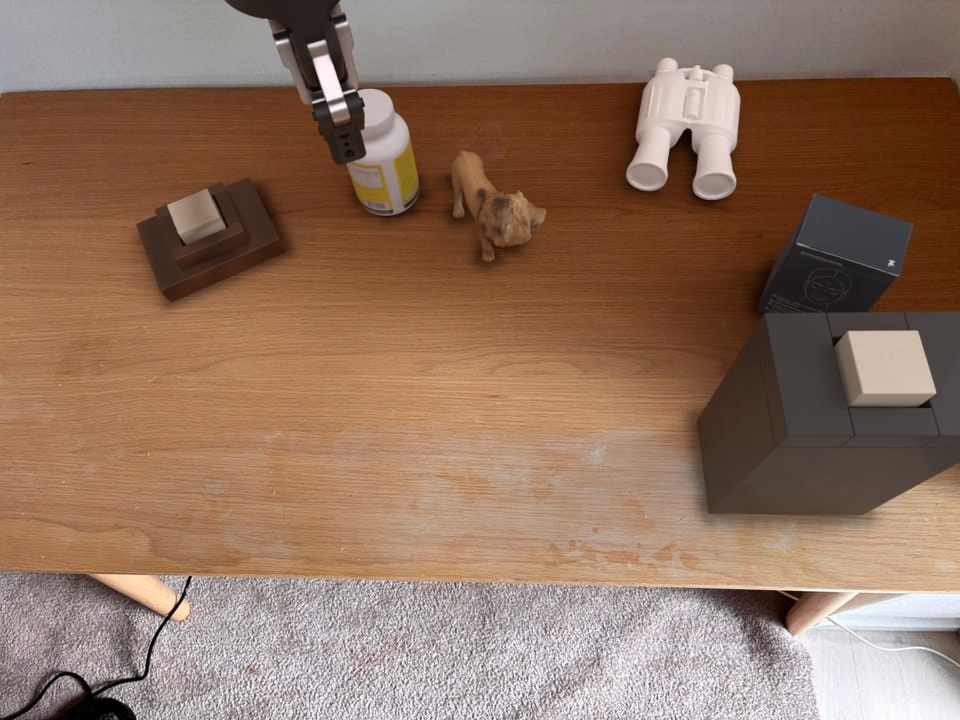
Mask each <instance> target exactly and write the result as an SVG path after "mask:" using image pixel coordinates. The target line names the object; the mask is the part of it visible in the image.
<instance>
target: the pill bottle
mask: <svg viewBox="0 0 960 720" xmlns="http://www.w3.org/2000/svg"><path fill="white" fill-rule="evenodd" d="M356 91H357V92H358V94H359V97H360V98H361V97H362V98H363V101H364V104H365V107H363V109H364V113H365V129H364V130H361V134H362V138H363V142H364V145H365V149H366V156H365V157H364V158H362V159H359V160H356V161H353V162H349V163H346V167H347V170H348V173H349V176H350V178H351V181H352V184H353V187H354V191H355V194H356V197H357V199H358V201H359V203H360V205H361V207H363V208H364V209H365V210H367V211H368V212H369V213H371V214H373V215H377V216H383V217H388V216H394V215H399V214H401V213H403V212H405V211H407V210H408V209H409V208H411V207H412V206H413V205H414V204H415V203H416V202H417V199H418V197H419V194H420V180H419V175H418V171H417V170H418V169H417V165H416V160H415V156H414V151H413V146H412V140H411V135H410V131H409V127H408V125H407V123H406V121H405V119H403V117H402V116H400V114H398V113H397V112H396V111H395V107H394V104H393V100H392V99H391V97H390V96H389V95H388V94H387V93H386V92H384V91H382V90H380V89H376V88H363V89H360V90H359V89H358V90H356Z"/></svg>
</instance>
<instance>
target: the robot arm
mask: <svg viewBox="0 0 960 720" xmlns="http://www.w3.org/2000/svg"><path fill="white" fill-rule="evenodd" d="M223 1H225V2H226V4H228V6H230V7H231V8H233V9H234V10H236V11H238V12H239V13H242V14H244V15H247V16H250V17H252V18H256V19H261V20H267V21H268V24H269V28H270V29H271V36H272V39H273V41H274V44H275V47H276V50H277V52H278V54H279V57H280V61H281V63H282V65H283V66H284V67H285V68H286V69H288V70H289V71H290V74H291V76H292V79H293V82H294V85H295V87H296V89H297V92H298V96H299V98H300V101H301V102H302V104H304V105H305V106H306V105H307V106H311V107H312V109H313V111H311V113H310V114H311V115H312V118H313V121H314V122H315V123H316V124H318V126H317V131H318V133H319V136H322V137H323V140H324V142H326V144H327V146H328V149H329V152H330V154H331V157H332V161H333V162H334V164H335V165H337V166H342V165H345V164H346V163H349V162H353V161H356V160H359V159H362V158H364V157H365V156H366V149H365V145H364V142H363V138H362V134H361V130H364V129H365V113H364V109H363V107H365V104H364V101H363V98H362V97H361V98H360V97H359V94H358V92H357V91H358V90H359V88H360V80H359V77H358V73H357V68H356V66H355V65H356V64H355V62H354V58H353V57H354V56H353V53H352V51H353V49H354V47H355V42H354V37H353V34H352V30H351V27H350V23H349V20H348V16H347V15H346V12H345V11H342V9H341V4H340V2H341V0H223ZM346 165H347V164H346Z"/></svg>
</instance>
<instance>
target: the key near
mask: <svg viewBox="0 0 960 720" xmlns="http://www.w3.org/2000/svg"><path fill="white" fill-rule="evenodd" d="M834 351H835V356H836V360H837V364H838V368H839V373H840V377H841V381H842V385H843V390H844V394H845V398H846V402H847V407H919V406H920V405H921V404H923V403H924V402H925V401H927V400H928V399H929V398H931V397H932V396H933V395H935V394H936V389H935V386H934V383H933V379H932V376H931V373H930V369H929V366H928V363H927V359H926V356H925V353H924V349H923V346H922V343H921V339H920V336H919V333H918V331H847V332H846V333H845V335H844V336H843V337H842V338H841V339H840V340H839V341H838V342H837V344H836V345H835V346H834Z"/></svg>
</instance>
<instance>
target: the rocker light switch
mask: <svg viewBox="0 0 960 720" xmlns="http://www.w3.org/2000/svg"><path fill="white" fill-rule="evenodd" d="M204 189H208V191H209V193H210V194H211V196H212V198H213V199H214V201H215V203H216V206H217V208H218V210H219V212H220V215H221V217H222V219H223V221H224V224H225V226H226V228H225V229H223V230H220V231H218V232H216V233H213V234H211V235H209V236H206V237H204V238H202V239H199V240H197V241H195V242H192V243H190V244H188V245H186V244H185V243H184V241H183V240H182V238H181V237H180V236H179V234H178V232H177V229H176V227H175V224H174V222H173V219H172V217H171V214H170V212H169V209H168V207H167V205H168V204H170V203H173V202H175V201H178V200H180V199H183V198H185V197H187V196H190V195H192V194H195V193H197V192H199V191H202V190H204ZM154 212H155V215H154V216H152V217H150V218H147V219H145V220H142V221H140V222H138V223H136V224H135V226H136V229H137V231H138V235H139V237H140V239H141V242H142V245H143V247H144V250H145V253H146V256H147V258H148V261H149V264H150V267H151V269H152V272H153V276H154V278H155V280H156V283H157V286H158V289H159V291H160V292H161V294H162V295H163V296H164V297H165V298H166V299H167V300H168V302H169V303H173V302H175V301H178V300H180V299H182V298H185V297H187V296H189V295H192V294H193V293H197V292H198V291H201V290H203V289H205V288H207V287H209V286H212V285H214V284H217V283H218V282H221V281H223V280H226V279H228V278H230V277H232V276H234V275H237V274H239V273H241V272H244V271H246V270H248V269H250V268H252V267H256V266H257V265H260V264H262V263H264V262H266V261H268V260H271V259H273V258H275V257H277V256H280V255H283V254H284V253H286V249H285V247H284V245H283V243H282V240H281V239H280V236H279V234H278V232H277V230H276V228H275V226H274V224H273V221H272V219H271V217H270V216H269V214H268V212H267V209H266V208H265V206H264V203H263V200H262V199H261V197H260V195H259V193H258V190H257V189H256V187H255V184H254V183H253V181H252V179H251V178H250V177H249V176H248V177H246V178H243V179H240V180H238V181H236V182H233V183H231V184H228V185H225V184H224V183H223V181H220V182H217V183H215V184H212V185H209V186H208V187H205V188H203V189H200V190H198V191H195V192H193V193H191V194H188V195H186V196H184V197H181V198H179V199H176V200H174V201H171V202H169V203H166V204H164V205H161V206H160V207H157V208H155V209H154Z"/></svg>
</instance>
